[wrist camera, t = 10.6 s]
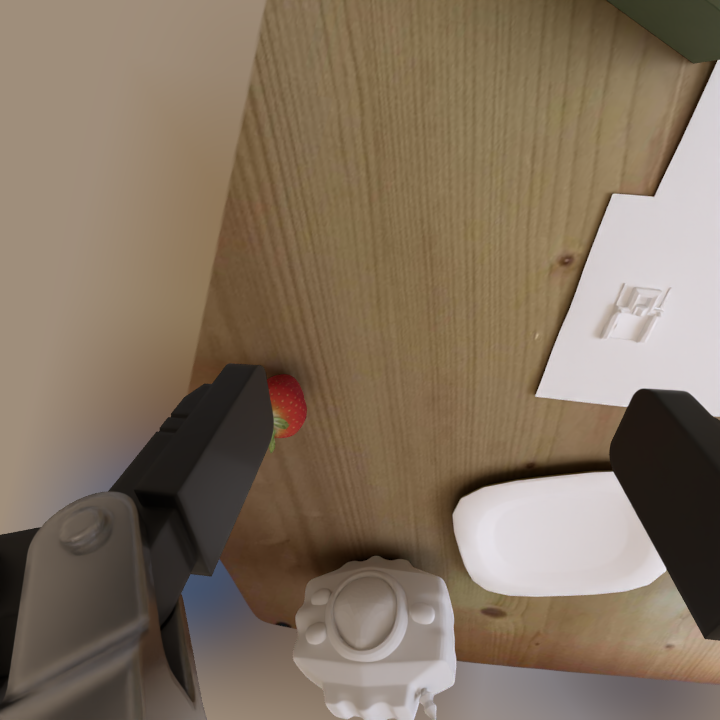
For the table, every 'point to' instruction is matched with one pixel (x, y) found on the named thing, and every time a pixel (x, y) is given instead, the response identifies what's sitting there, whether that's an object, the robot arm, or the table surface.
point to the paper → (651, 285)
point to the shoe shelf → (680, 24)
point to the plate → (555, 537)
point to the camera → (377, 639)
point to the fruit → (286, 406)
